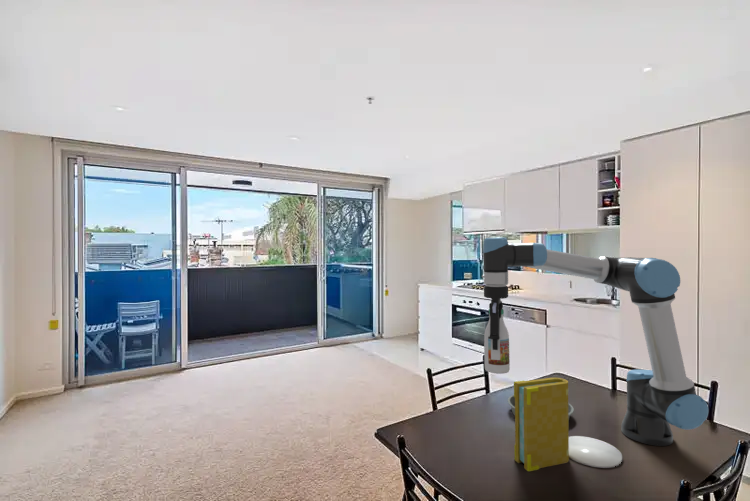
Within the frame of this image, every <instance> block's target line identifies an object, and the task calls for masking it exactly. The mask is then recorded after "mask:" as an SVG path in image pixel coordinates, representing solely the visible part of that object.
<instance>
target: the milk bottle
mask: <svg viewBox="0 0 750 501" xmlns="http://www.w3.org/2000/svg"><path fill="white" fill-rule="evenodd" d="M488 316H489V319H488V322H487V324H486V326H485V329H484V336H483V339H484V340H483V341H484V342H483V343H484V347H483V348H484V349H483V350H484V352H483V353H484V354H483V357H484V358H483V359H484V361H483V362H484V369H485V371H486V372H487V373H491V374H497V375H499V374H500V375H501V374H507V373H509V371H510V368H511V367H510V365H511V364H510V335H509V331H508V327H507V326H506V324H505V321H504V320H505V319H504V308H503V309H502V310H501V318H500V325H499V337H500V338H499V339H500V360H491V339H488V337H490V308H488ZM494 335H496V334H494Z"/></svg>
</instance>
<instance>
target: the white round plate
mask: <svg viewBox="0 0 750 501" xmlns="http://www.w3.org/2000/svg"><path fill="white" fill-rule="evenodd" d="M569 460H572V461H574V462H577V463H579V464H581V465H586V466H589V467H592V468H600V469H601V468H602V469H610V468H616V467H619V466H620V465H622V463H623V454H622V452H621V451H620V450H619V449H618V448H617V447H615V446H614V445H612V444H611V443H609V442H605V441H603V440H600V439H597V438H593V437H589V436H583V435H572V436H571V435H570V436H569ZM621 462H622V463H621ZM619 464H620V465H619ZM615 466H616V467H615Z"/></svg>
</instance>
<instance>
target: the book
mask: <svg viewBox="0 0 750 501" xmlns="http://www.w3.org/2000/svg"><path fill="white" fill-rule="evenodd" d="M513 395H514V397H515V415H514V436H515V438H514V439H515V440H514V442H515V443H514V446H513V447H514V461H515V462H516V463H518V464H521V463H523V464H524V465H523V468H524V469H525V470H526V471H527V472H533V471H537V470H540V469H541V468H542V469H543V468H546V467H552V466H557V465H561V464H566V463H567V464H568V463H569V461H570V458H569V437H570V436H569V434H570V433H569V428H570V427H569V420H568V403H569V381H568V380H567V379H565V378H562V377H546V378H539V379H529V380H517V381H513Z"/></svg>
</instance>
